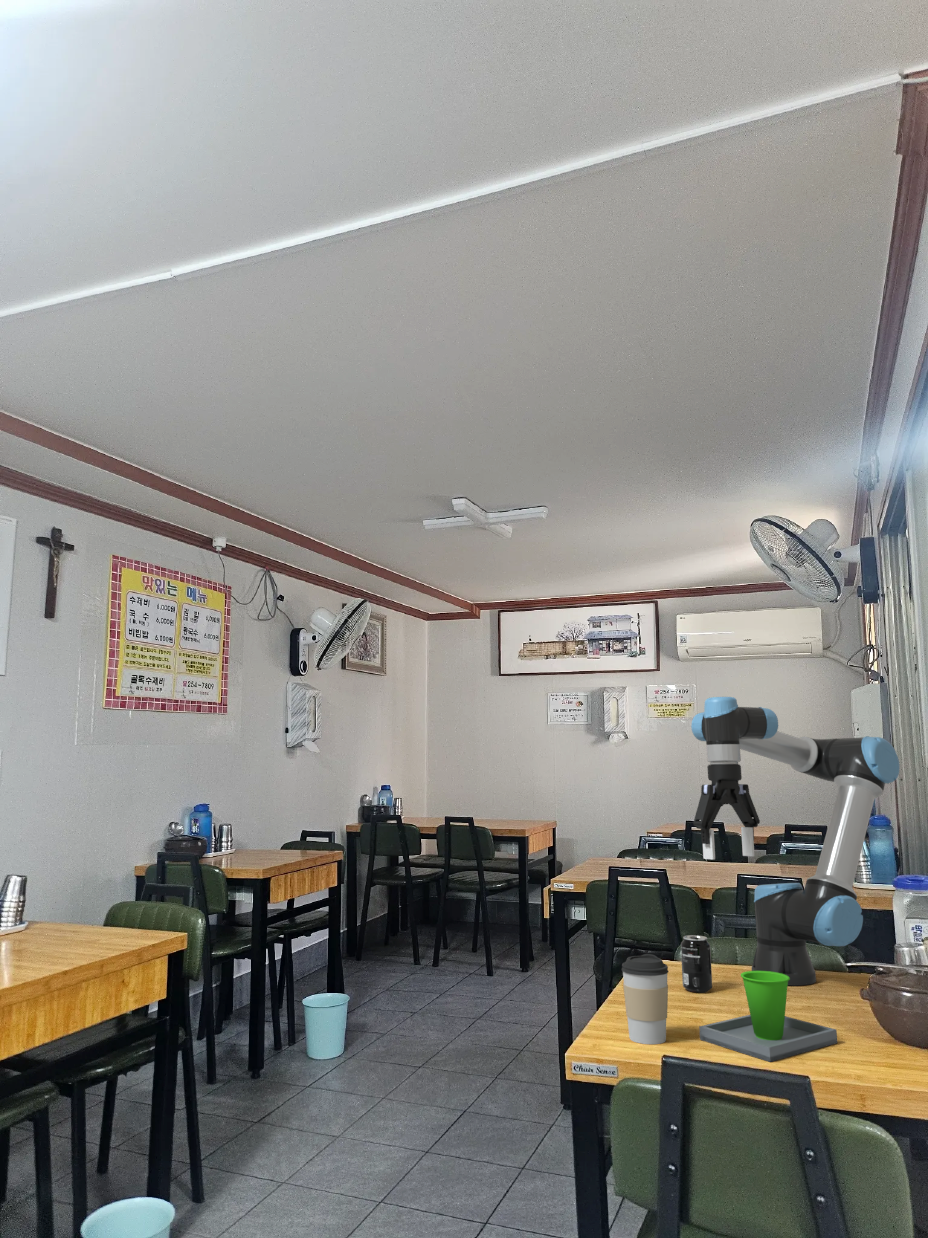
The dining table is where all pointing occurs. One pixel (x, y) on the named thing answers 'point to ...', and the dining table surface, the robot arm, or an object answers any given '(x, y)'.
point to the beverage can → (696, 964)
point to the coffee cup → (646, 998)
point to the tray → (743, 1040)
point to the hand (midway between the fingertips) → (729, 857)
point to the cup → (766, 1002)
